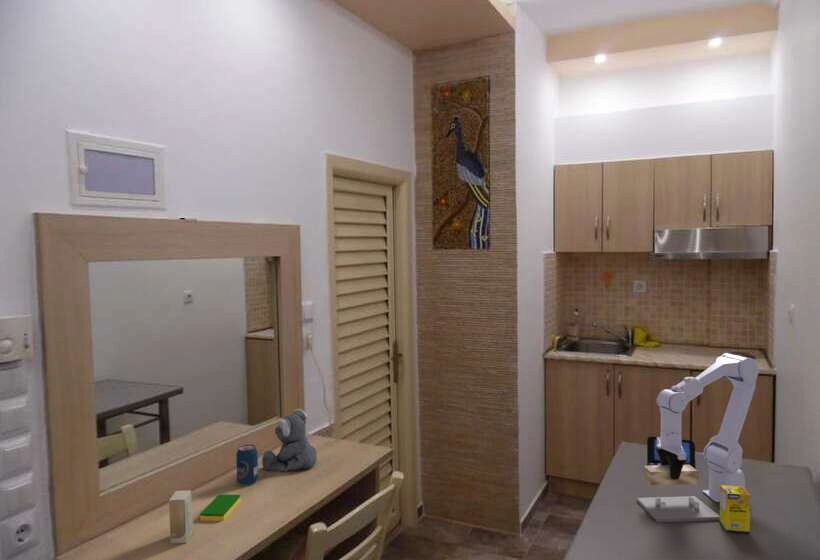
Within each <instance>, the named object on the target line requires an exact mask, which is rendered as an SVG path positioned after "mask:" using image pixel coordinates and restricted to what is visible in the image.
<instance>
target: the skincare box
mask: <svg viewBox="0 0 820 560" xmlns="http://www.w3.org/2000/svg"><path fill="white" fill-rule="evenodd" d="M168 504H169V506H168V507H169V509H168V510H169V532H170V533H169V534H170V544H174V545H175V544H187V543H188V541H189V539H191V536H192V534H193V530H194V529H193V526H194V525H193V508H192V507H193V505H192V490H190V489H188V490H176V491H174V493H173V494H172V495H171V497H170V498H169V499H168Z"/></svg>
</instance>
